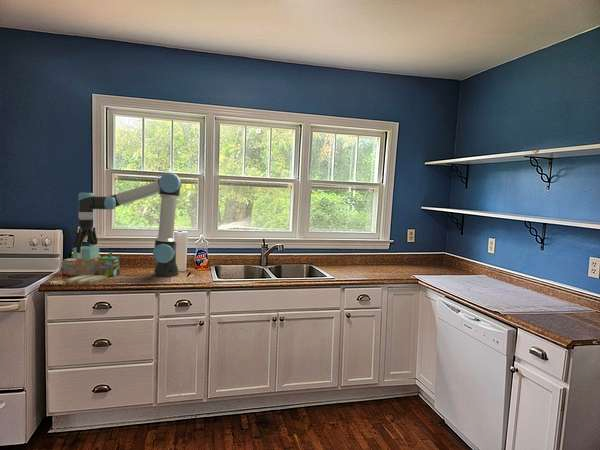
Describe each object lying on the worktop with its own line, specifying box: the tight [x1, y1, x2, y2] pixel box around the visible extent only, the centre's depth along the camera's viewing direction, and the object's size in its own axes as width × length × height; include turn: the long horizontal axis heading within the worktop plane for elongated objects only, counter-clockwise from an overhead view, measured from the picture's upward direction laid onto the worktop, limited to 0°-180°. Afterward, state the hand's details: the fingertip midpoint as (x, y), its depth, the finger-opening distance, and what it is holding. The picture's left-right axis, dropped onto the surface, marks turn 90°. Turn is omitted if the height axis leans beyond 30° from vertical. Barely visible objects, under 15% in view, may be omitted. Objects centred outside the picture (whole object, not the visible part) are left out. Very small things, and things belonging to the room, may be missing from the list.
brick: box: [72, 245, 100, 259], centre depth 234 cm, size 10×10×6 cm
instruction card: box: [44, 280, 68, 285], centre depth 227 cm, size 10×7×1 cm
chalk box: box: [99, 251, 121, 278], centre depth 250 cm, size 9×9×15 cm
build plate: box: [63, 274, 108, 285], centre depth 235 cm, size 16×16×2 cm
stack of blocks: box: [62, 255, 102, 276], centre depth 251 cm, size 21×6×12 cm, turn 84°
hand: (86, 256), depth 234 cm, fingers closed on brick, 10 cm apart
